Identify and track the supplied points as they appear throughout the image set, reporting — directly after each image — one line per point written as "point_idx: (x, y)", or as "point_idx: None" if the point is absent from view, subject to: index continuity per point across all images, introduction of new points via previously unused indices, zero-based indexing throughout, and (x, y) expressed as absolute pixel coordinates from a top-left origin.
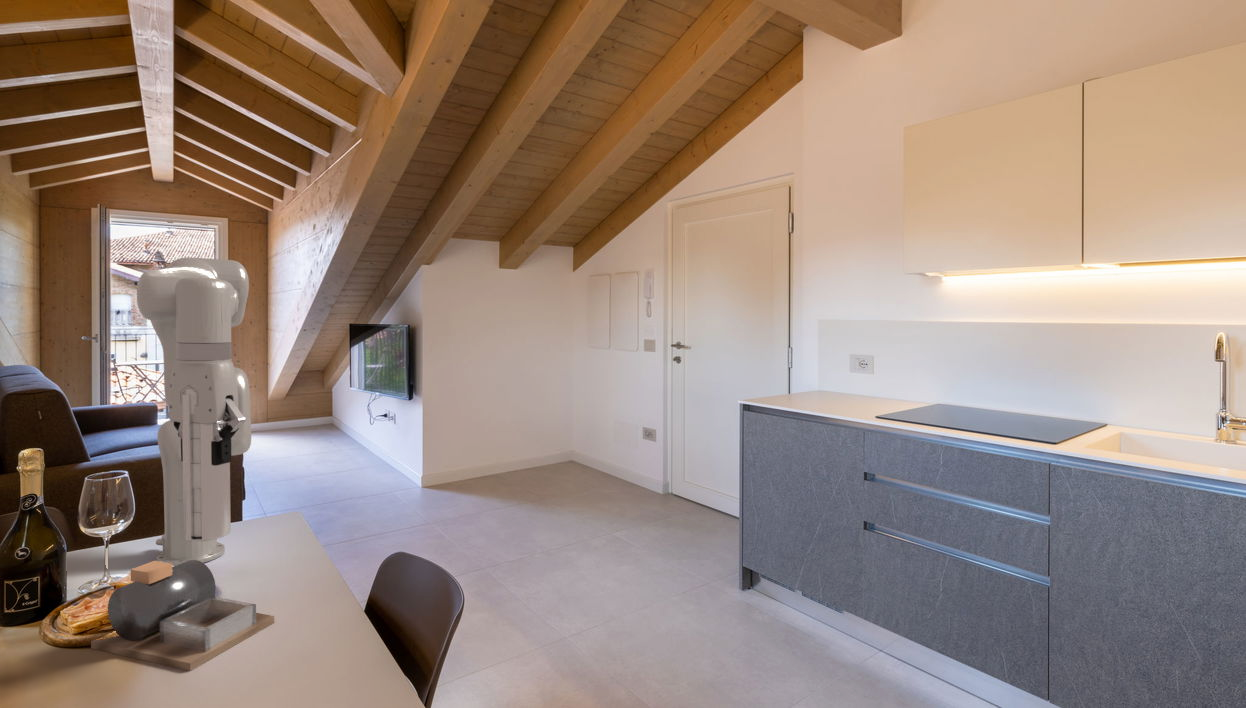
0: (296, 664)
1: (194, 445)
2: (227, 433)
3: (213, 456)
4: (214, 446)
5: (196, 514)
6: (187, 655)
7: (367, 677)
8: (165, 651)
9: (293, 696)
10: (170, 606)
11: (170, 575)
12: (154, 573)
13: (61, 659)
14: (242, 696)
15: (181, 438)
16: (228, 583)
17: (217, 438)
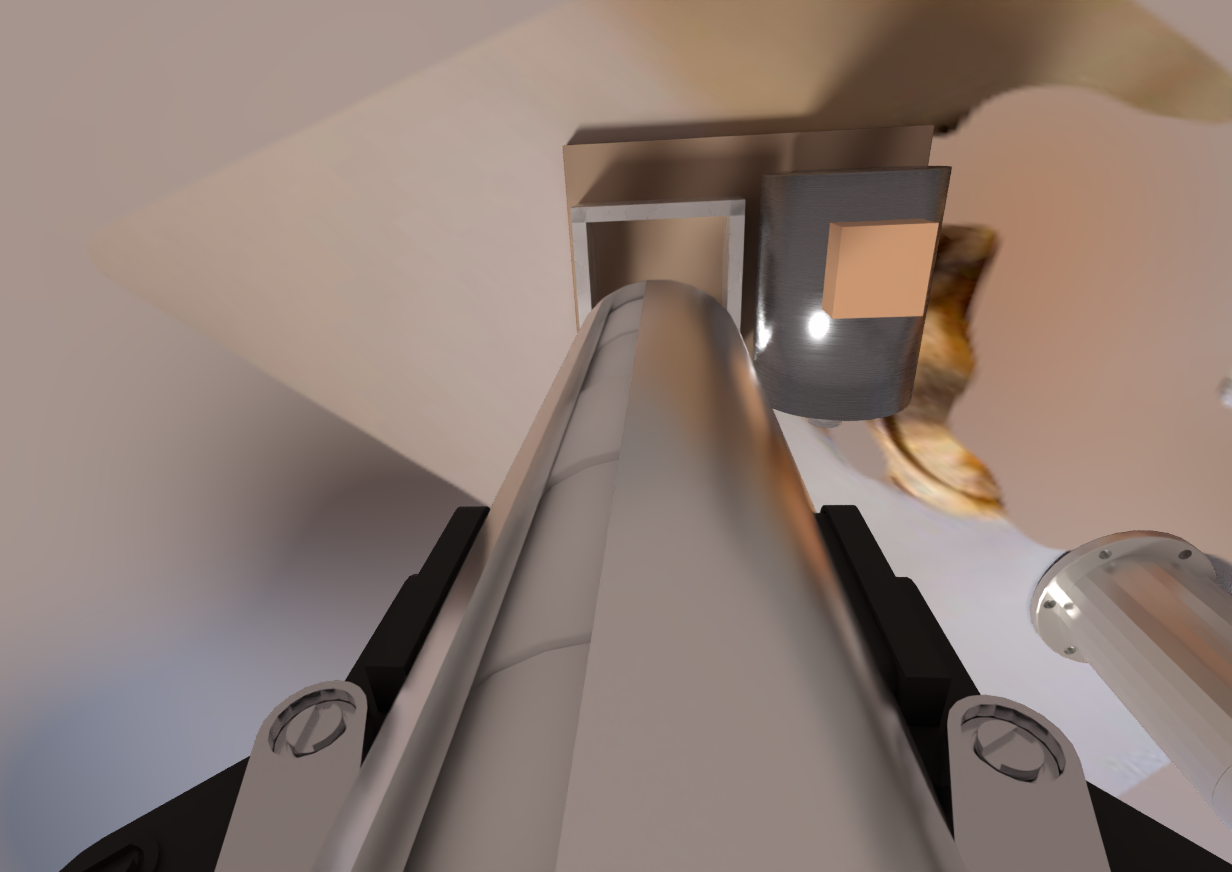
0: (370, 264)
1: (590, 568)
2: (154, 810)
3: (442, 550)
4: (390, 626)
5: (628, 328)
6: (605, 172)
7: (193, 279)
8: (678, 165)
9: (255, 157)
10: (759, 248)
11: (822, 302)
12: (836, 248)
13: (953, 48)
14: (352, 111)
15: (935, 677)
16: (874, 509)
17: (324, 720)
